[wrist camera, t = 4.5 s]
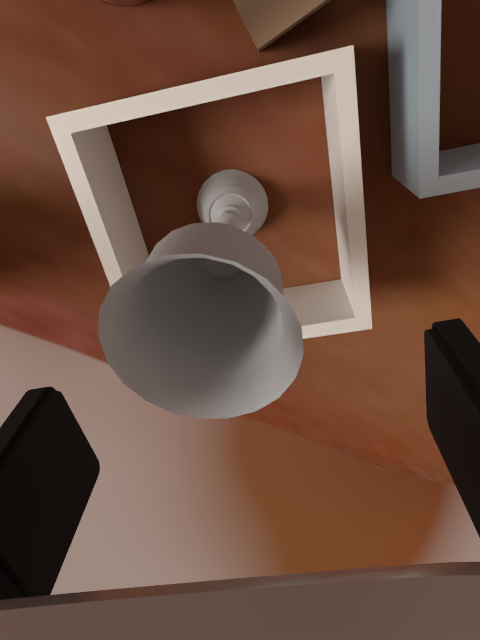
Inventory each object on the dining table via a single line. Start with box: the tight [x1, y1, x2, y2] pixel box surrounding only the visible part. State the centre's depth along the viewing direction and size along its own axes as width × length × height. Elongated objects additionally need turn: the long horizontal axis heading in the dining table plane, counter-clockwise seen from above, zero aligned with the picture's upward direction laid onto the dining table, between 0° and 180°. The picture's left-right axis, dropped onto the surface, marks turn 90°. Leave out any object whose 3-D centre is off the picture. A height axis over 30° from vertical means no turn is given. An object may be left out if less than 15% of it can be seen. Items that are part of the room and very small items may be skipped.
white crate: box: [46, 45, 372, 339], centre depth 28 cm, size 16×16×6 cm
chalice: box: [98, 169, 304, 418], centre depth 23 cm, size 7×7×18 cm
